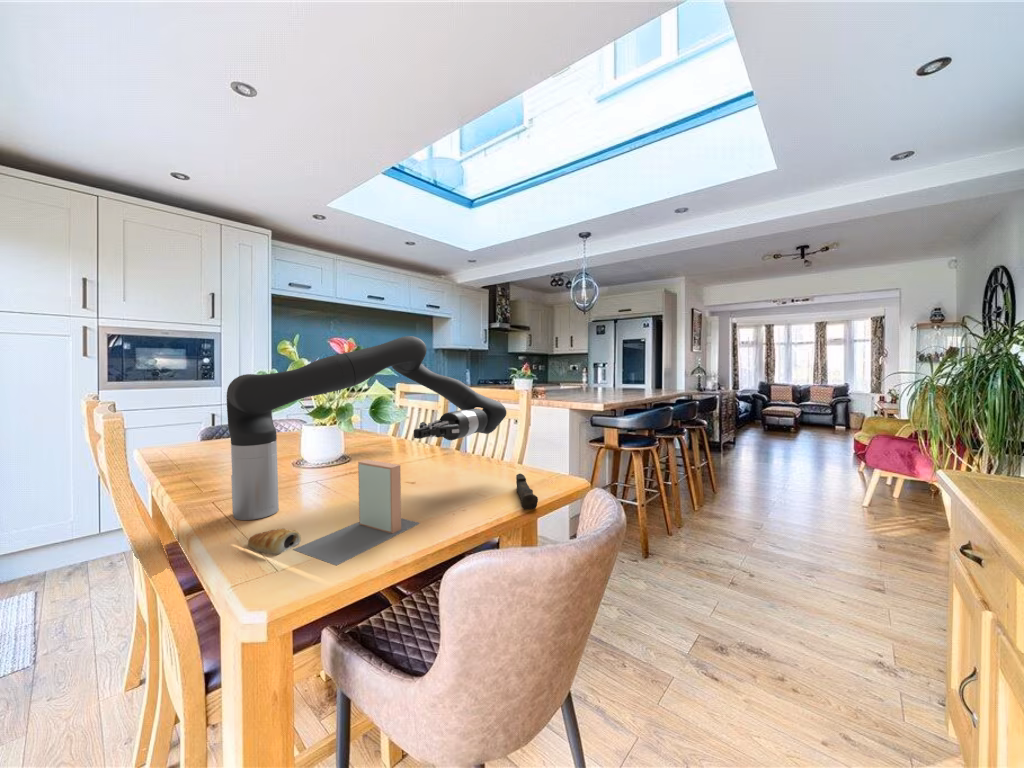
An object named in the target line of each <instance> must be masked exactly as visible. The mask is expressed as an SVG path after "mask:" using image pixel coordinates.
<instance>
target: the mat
mask: <svg viewBox="0 0 1024 768" xmlns="http://www.w3.org/2000/svg"><path fill="white" fill-rule="evenodd" d="M420 524H421V522H418V521H415V520H414V521H413V520H409V519H408V518H407V519H405V518H403V517H401V530H399V531H397V532H395V533H393V534H392V533H388V532H385V531H381V530H378V529H374V528H370V527H367V526H363V525H360V524H359V521H357V522H355V523H353V524H351V525H347V526H346V527H343V528H341V529H338V530H336V531H334V532H331V533H329V534H326V535H324V536H321V537H319V538H317V539H314V540H312V541H310V542H307V543H305V544H303V545H300V546H298V547H295V548H293V549H292V551H295V552H298V553H300V554H304V555H305V556H309V557H311V558H315V559H317V560H320V561H323V562H325V563H327V564H328V563H329V564H330V565H334V566H338V565H341V564H343V563H345V562H346V561H348V560H351V559H352V558H354V557H356V556H358V555H361V554H362V553H365V552H366V551H368V550H371V549H372V548H374V547H376V546H378V545H380V544H382V543H384V542H386V541H388V540H390V539H392V538H394V537H396V536H398V535H400V534H402V533H404V532H406V531H408V530H410V529H412V528H414V527H416V526H418V525H420Z"/></svg>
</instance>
